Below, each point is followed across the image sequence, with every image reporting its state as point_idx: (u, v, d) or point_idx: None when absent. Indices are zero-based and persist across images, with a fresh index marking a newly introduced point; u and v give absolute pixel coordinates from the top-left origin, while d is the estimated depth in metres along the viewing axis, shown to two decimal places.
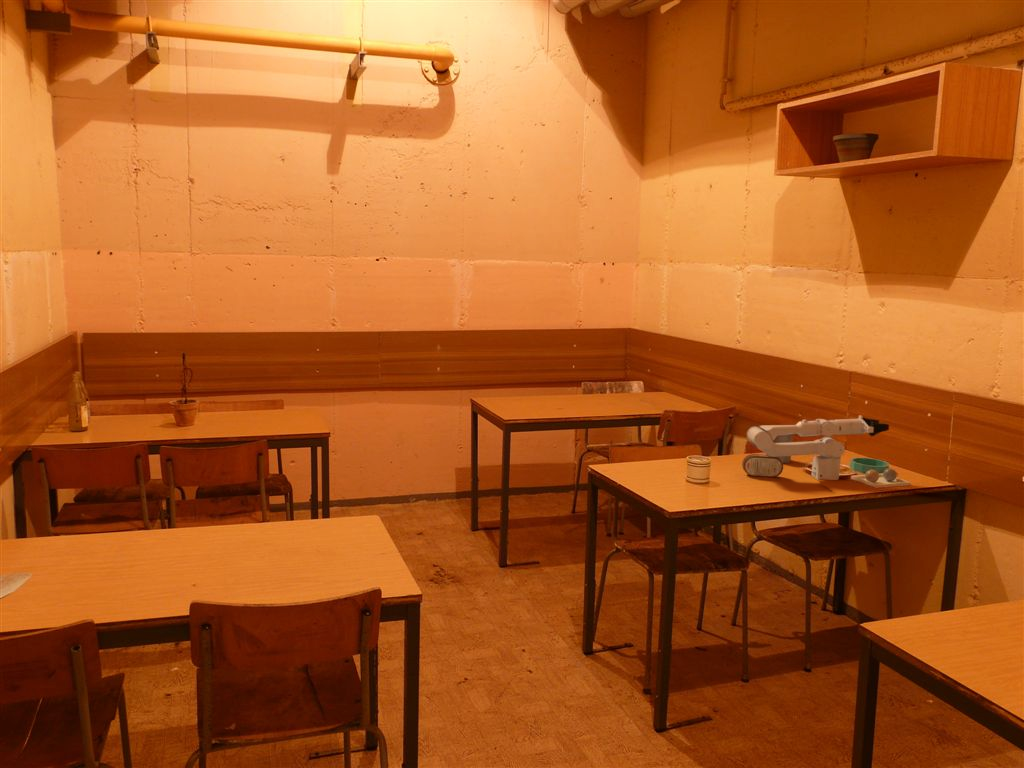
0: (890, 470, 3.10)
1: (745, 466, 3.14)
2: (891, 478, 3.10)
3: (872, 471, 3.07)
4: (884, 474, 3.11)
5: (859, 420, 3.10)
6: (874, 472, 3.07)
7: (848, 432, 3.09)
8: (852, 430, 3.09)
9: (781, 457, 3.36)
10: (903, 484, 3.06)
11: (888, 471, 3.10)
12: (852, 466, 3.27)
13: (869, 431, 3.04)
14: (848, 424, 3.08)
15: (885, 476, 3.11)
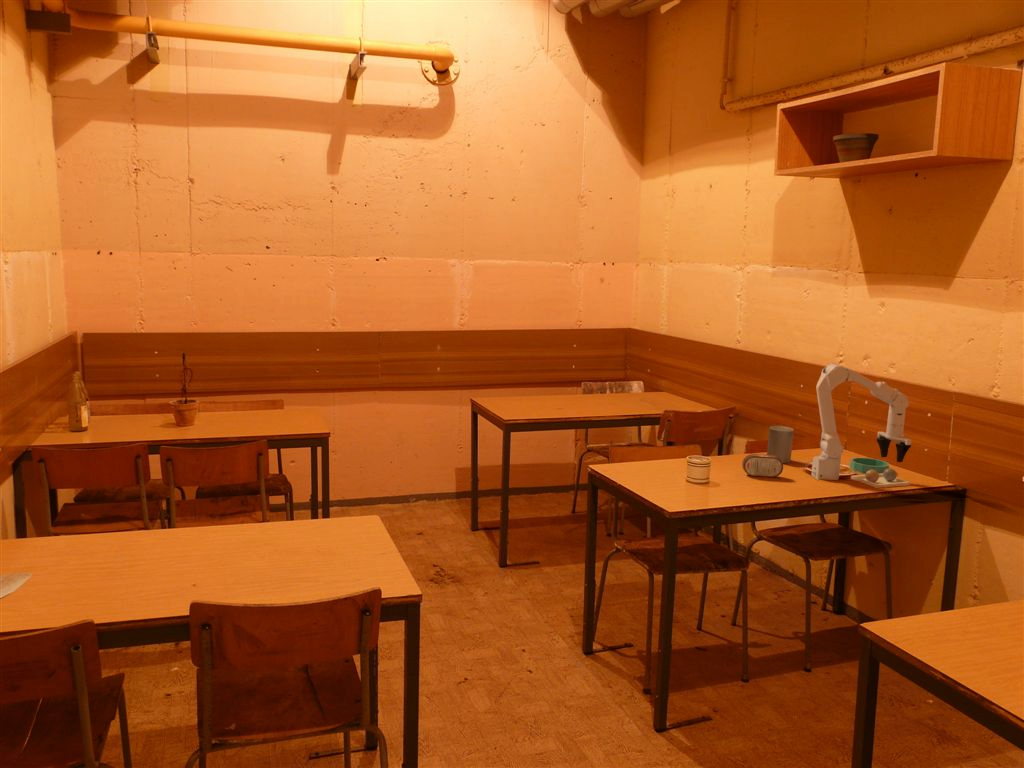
0: (890, 470, 3.10)
1: (745, 466, 3.14)
2: (891, 478, 3.10)
3: (872, 471, 3.07)
4: (884, 474, 3.11)
5: None
6: (874, 472, 3.07)
7: (893, 423, 3.06)
8: (899, 427, 3.06)
9: (781, 457, 3.36)
10: (903, 484, 3.06)
11: (888, 471, 3.10)
12: (852, 466, 3.27)
13: (908, 441, 3.02)
14: (902, 423, 3.06)
15: (885, 476, 3.11)
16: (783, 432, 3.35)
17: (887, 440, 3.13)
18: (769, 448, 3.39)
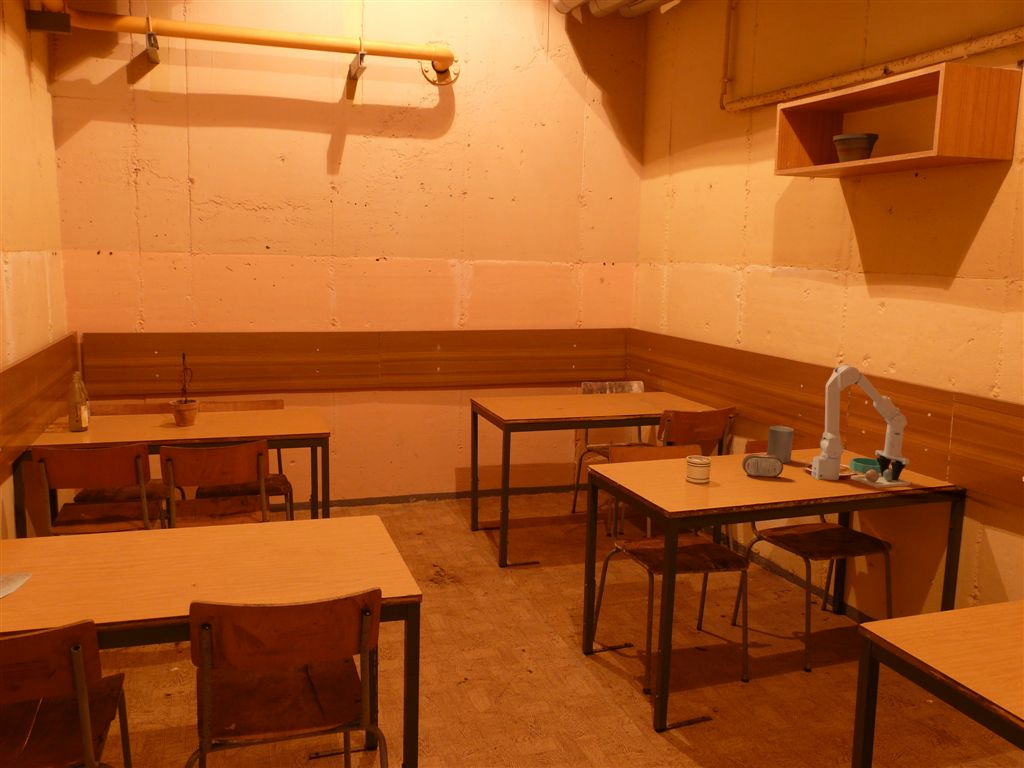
0: (890, 470, 3.10)
1: (745, 466, 3.14)
2: (891, 478, 3.10)
3: (872, 471, 3.07)
4: (884, 474, 3.11)
5: None
6: (874, 472, 3.07)
7: (890, 442, 3.08)
8: (896, 446, 3.07)
9: (781, 457, 3.36)
10: (903, 484, 3.06)
11: (888, 471, 3.10)
12: (852, 466, 3.27)
13: (906, 460, 3.03)
14: (899, 442, 3.07)
15: (885, 476, 3.11)
16: (783, 432, 3.35)
17: (887, 459, 3.13)
18: (769, 448, 3.39)
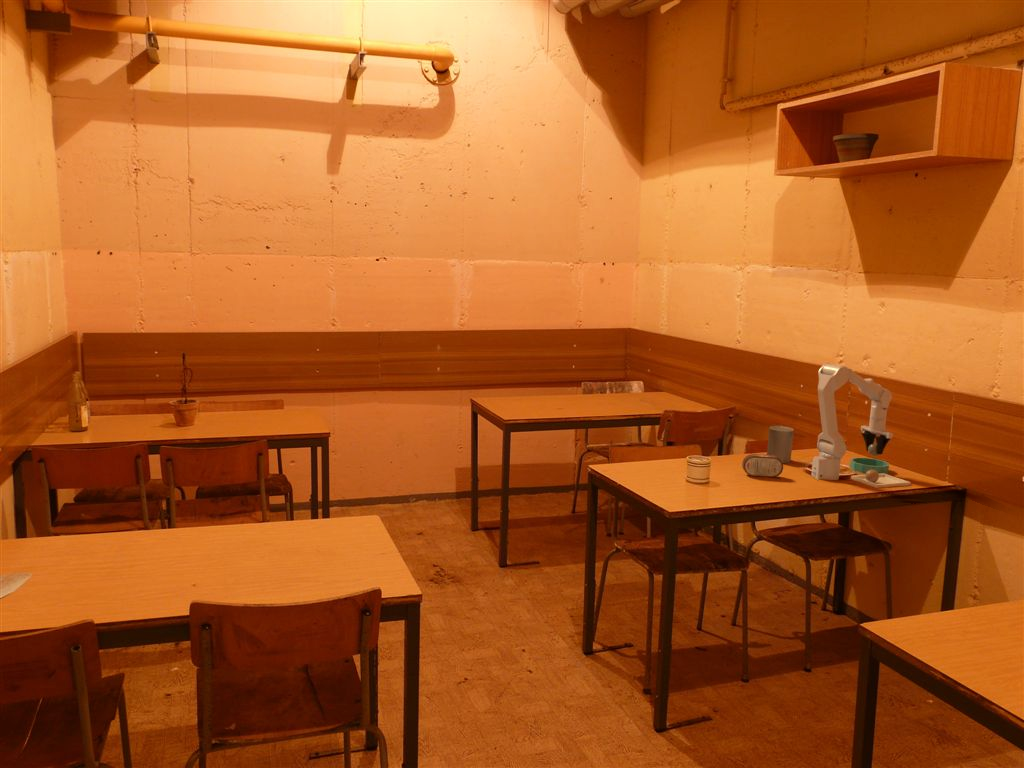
0: (875, 445, 3.19)
1: (745, 466, 3.14)
2: (876, 452, 3.18)
3: (872, 471, 3.07)
4: (869, 449, 3.20)
5: None
6: (874, 472, 3.07)
7: (879, 417, 3.16)
8: (881, 421, 3.16)
9: (781, 457, 3.36)
10: (903, 484, 3.06)
11: (873, 446, 3.19)
12: (852, 466, 3.27)
13: (889, 434, 3.12)
14: (885, 416, 3.17)
15: (870, 451, 3.20)
16: (783, 432, 3.35)
17: (872, 434, 3.22)
18: (769, 448, 3.39)
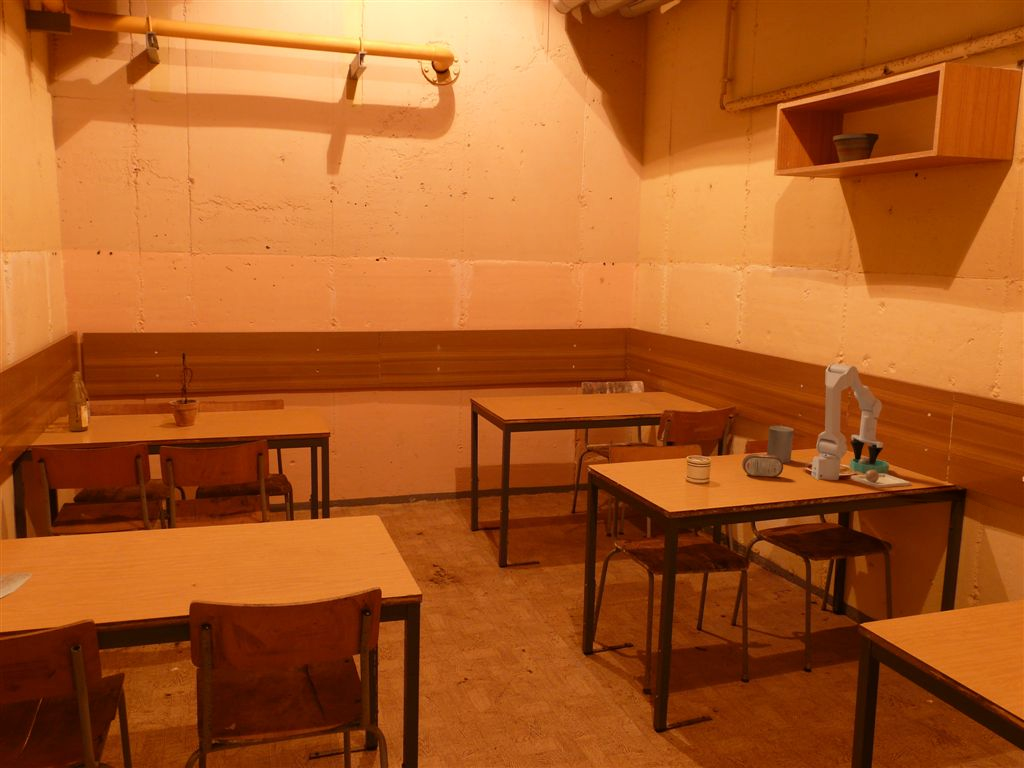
0: (864, 459, 3.25)
1: (745, 466, 3.14)
2: None
3: (872, 471, 3.07)
4: None
5: None
6: (874, 472, 3.07)
7: (871, 427, 3.21)
8: (871, 430, 3.22)
9: (781, 457, 3.36)
10: (903, 484, 3.06)
11: (862, 460, 3.25)
12: (852, 466, 3.27)
13: (879, 443, 3.18)
14: None
15: None
16: (783, 432, 3.35)
17: (860, 443, 3.29)
18: (769, 448, 3.39)
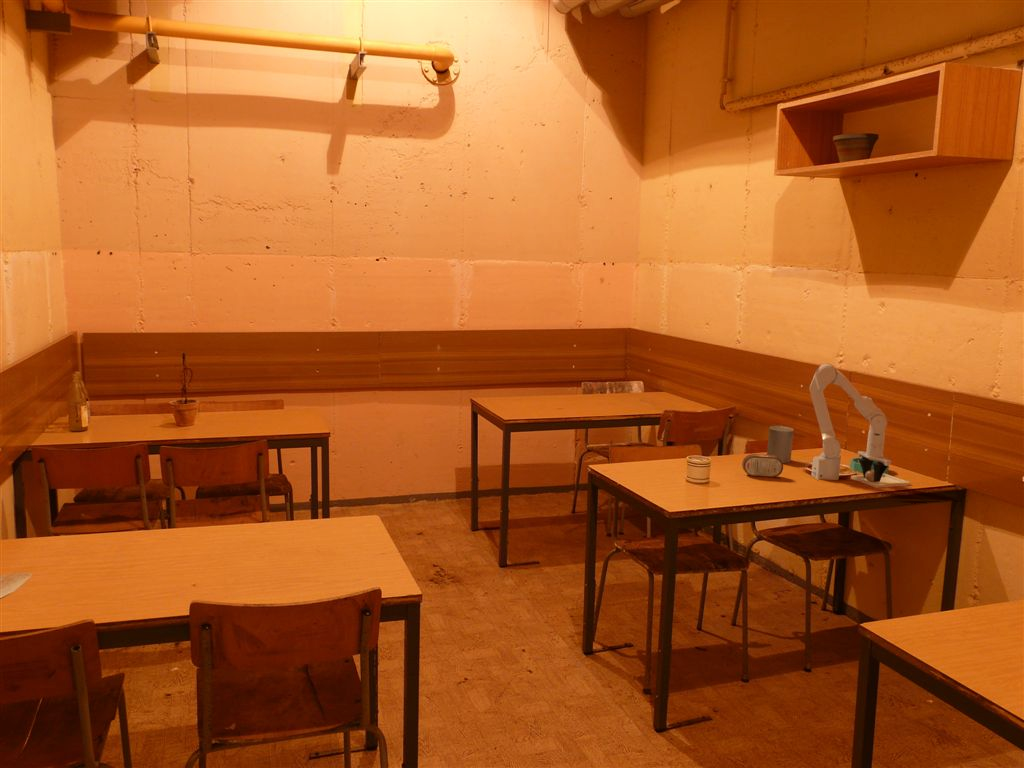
0: None
1: (745, 466, 3.14)
2: None
3: (872, 471, 3.07)
4: None
5: None
6: None
7: (870, 442, 3.05)
8: (878, 447, 3.04)
9: (781, 457, 3.36)
10: (903, 484, 3.06)
11: None
12: (852, 466, 3.27)
13: (887, 461, 3.01)
14: (880, 443, 3.04)
15: None
16: (783, 432, 3.35)
17: (869, 461, 3.10)
18: (769, 448, 3.39)
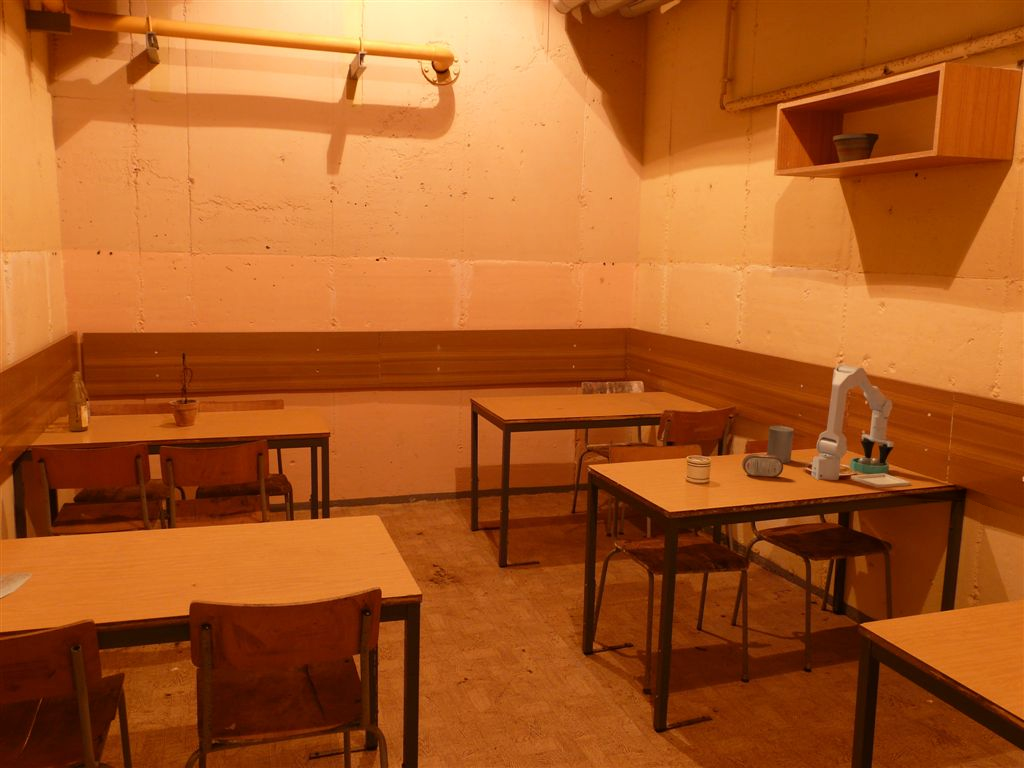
0: (864, 457, 3.27)
1: (745, 466, 3.14)
2: (866, 463, 3.25)
3: None
4: (859, 461, 3.27)
5: None
6: None
7: (881, 426, 3.23)
8: (881, 430, 3.23)
9: (781, 457, 3.36)
10: (903, 484, 3.06)
11: (862, 458, 3.27)
12: (852, 466, 3.27)
13: (890, 443, 3.20)
14: (886, 425, 3.25)
15: (860, 463, 3.26)
16: (783, 432, 3.35)
17: (871, 442, 3.31)
18: (769, 448, 3.39)
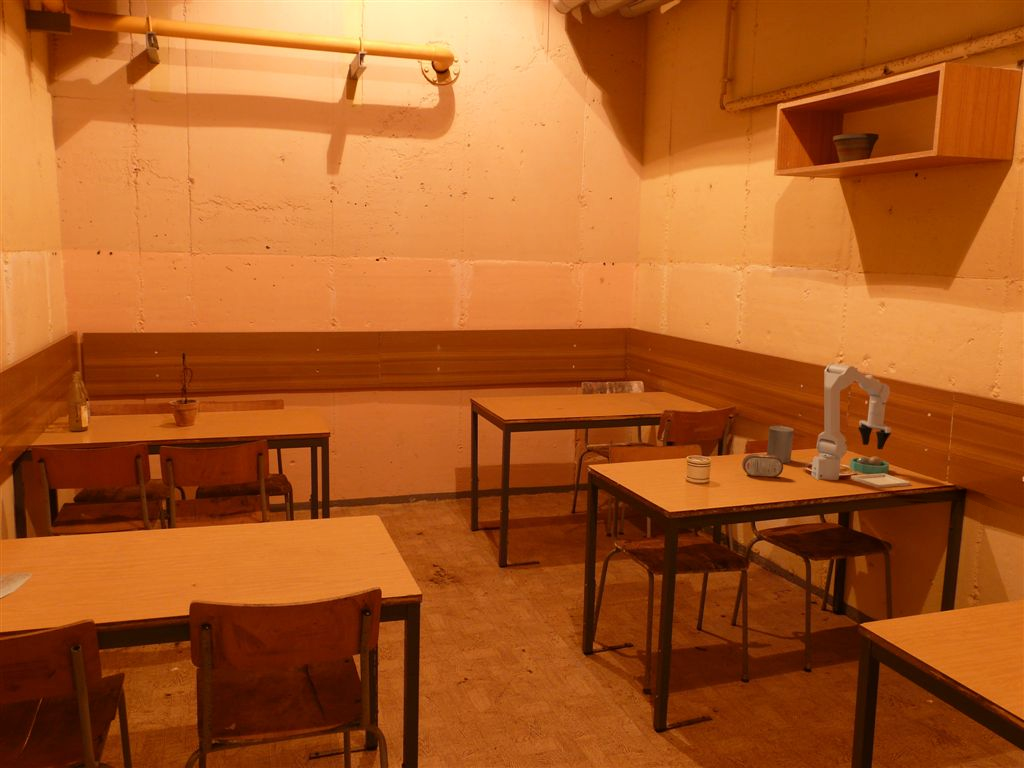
0: None
1: (745, 466, 3.14)
2: (864, 461, 3.26)
3: None
4: (857, 461, 3.28)
5: None
6: (878, 457, 3.29)
7: (878, 412, 3.20)
8: (879, 415, 3.21)
9: (781, 457, 3.36)
10: (903, 484, 3.06)
11: (860, 457, 3.28)
12: (852, 466, 3.27)
13: (888, 429, 3.17)
14: (884, 411, 3.22)
15: (859, 461, 3.27)
16: (783, 432, 3.35)
17: (868, 428, 3.28)
18: (769, 448, 3.39)
